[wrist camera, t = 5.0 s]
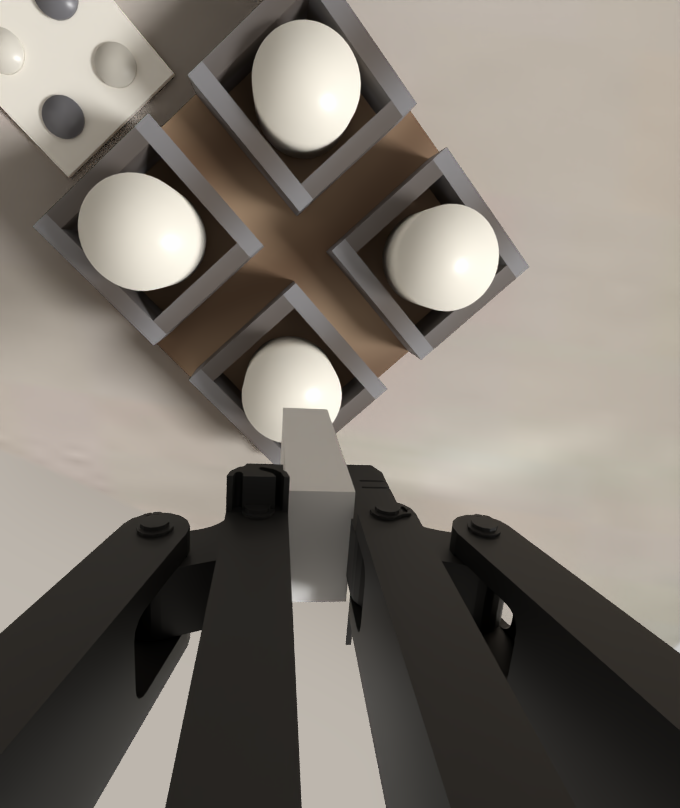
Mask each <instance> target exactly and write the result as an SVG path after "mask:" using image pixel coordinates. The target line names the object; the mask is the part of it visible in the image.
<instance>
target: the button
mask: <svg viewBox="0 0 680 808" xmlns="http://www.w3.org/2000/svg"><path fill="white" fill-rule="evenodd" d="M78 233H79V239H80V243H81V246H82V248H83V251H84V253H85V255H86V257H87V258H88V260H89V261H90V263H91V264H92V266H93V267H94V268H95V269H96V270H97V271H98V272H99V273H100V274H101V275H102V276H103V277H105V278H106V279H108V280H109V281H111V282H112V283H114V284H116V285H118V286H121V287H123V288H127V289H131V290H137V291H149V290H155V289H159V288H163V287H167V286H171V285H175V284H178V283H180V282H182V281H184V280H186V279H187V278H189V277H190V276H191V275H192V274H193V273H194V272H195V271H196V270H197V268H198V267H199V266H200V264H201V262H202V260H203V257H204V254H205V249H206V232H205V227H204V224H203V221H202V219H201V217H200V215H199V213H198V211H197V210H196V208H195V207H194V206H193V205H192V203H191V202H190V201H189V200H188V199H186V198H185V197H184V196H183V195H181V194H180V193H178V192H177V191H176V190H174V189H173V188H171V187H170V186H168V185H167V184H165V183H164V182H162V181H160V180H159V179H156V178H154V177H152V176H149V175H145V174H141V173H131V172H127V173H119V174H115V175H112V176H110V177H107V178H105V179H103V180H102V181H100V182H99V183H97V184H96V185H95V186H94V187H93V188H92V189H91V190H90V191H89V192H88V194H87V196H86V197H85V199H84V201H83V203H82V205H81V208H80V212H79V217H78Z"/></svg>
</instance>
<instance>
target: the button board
mask: <svg viewBox="0 0 680 808" xmlns="http://www.w3.org/2000/svg"><path fill="white" fill-rule="evenodd" d="M294 20H312V21H316V22H320V23H322V24H325V25H326V26H328V27H330V28H332V29H333V30H334V31H336V32H337V33H338V34H339V35H340V36H341V37H342V38H343V39H344V40H345V41H346V43H347V44H348V45H349V47H350V48H351V50H352V52H353V54H354V56H355V58H356V61H357V64H358V68H359V72H360V81H361V89H360V97H359V102H358V105H357V108H356V111H355V113H354V115H353V117H352V119H351V120H350V122H349V124H348V126H347V128H346V129H345V131H344V133H343V135H342V137H341V138H340V140H339V141H338V143H337V144H336V145H335V146H334V147H333V148H332V149H330V150H329V151H328V152H326V153H324V154H323V155H320V156H318V157H314V158H308V159H300V158H294V157H291V156H288V155H286V154H284V153H282V152H280V151H279V150H277V149H276V148H275V147H274V146H273V145H272V144H271V143H270V142H269V141H268V140H267V138H266V137H265V136H264V134H263V132H262V130H261V129H260V126H259V124H258V121H257V117H256V111H255V104H254V96H253V88H252V68H253V63H254V59H255V56H256V53H257V51H258V49H259V47H260V45H261V44H262V42H263V41H264V39H265V38H266V37H267V36H268V35H269V34H270V33H271V32H272V31H273V30H274V29H276V28H277V27H279V26H280V25H282V24H285V23H287V22H290V21H294ZM188 77H189V79H190V81H191V83H192V86H193V88H194V90H195V92H196V94H195V95H194V96H193V97H192V98H191V99H190V100H189V101H188V102H187V103H186V104H185V105H184V106H183V107H182V108H181V109H180V110H179V111H178V112H177V113H176V114H175V115H174V116H173V117H172V118H171V119H170V120H169V121H168V122H167V123H165V124H164V125H163V126H162V127H160V126H159V125H158V123H157V122H156V121H155V120H154V119H153V118H152V116H151V115H150V114H149V113H148V114H147V115H146V116H145V117H144V118H143V119H142V120H141V121H140V122H139V123H138V124H137V125H136V126H135V127H134V128H133V129H131V130H130V131H129V132H128V133H127V134H126V135H125V136H124V137H123V138H122V139H121V140H120V141H119V142H118V143H117V144H116V145H115V146H114V147H113V148H112V149H111V150H110V151H109V152H108V153H107V154H106V155H105V156H104V157H103V158H102V159H101V160H100V161H99V162H98V163H97V164H96V165H95V166H94V167H93V168H92V169H91V170H90V171H89V172H88V173H86V174H85V175H84V176H83V177H82V178H81V179H80V180H79V181H78V182H77V183H76V184H75V185H74V186H73V187H72V188H71V189H70V190H69V191H68V192H67V193H66V194H65V195H64V196H63V197H62V198H61V199H60V200H59V201H58V202H57V203H56V204H55V205H54V206H53V207H52V208H51V209H50V210H49V211H48V212H47V213H46V214H45V215H44V216H42V217H41V218H40V219H39V220H38V221H37V222H36V223H35V224H34V225H33V227H34V228H35V229H36V230H37V231H38V232H39V233H40V234H41V235H42V236H43V237H44V238H45V239H46V240H47V241H48V242H49V243H50V244H51V245H52V246H53V247H54V248H55V249H56V250H57V251H58V252H59V253H60V254H61V255H62V256H63V257H64V258H65V259H66V260H67V261H68V262H69V263H70V264H71V265H72V266H73V267H74V268H75V269H76V270H77V271H78V272H79V273H80V274H81V275H82V276H83V277H84V278H85V279H86V280H87V281H88V282H90V283H91V284H92V285H93V286H94V287H95V288H96V289H97V290H98V291H99V292H100V293H101V294H102V295H103V296H104V297H105V298H106V299H107V300H108V301H109V302H110V303H111V304H112V305H113V306H114V307H115V308H116V309H117V310H118V311H119V312H120V313H121V314H122V315H123V316H124V317H125V318H126V319H127V320H128V321H129V322H130V323H131V324H132V325H133V326H134V327H135V328H136V329H137V330H138V331H139V332H140V333H141V334H142V335H143V336H144V337H145V338H146V339H147V340H148V341H149V342H150V343H151V344H152V345H153V346H154V345H155V344H158V345H159V346H160V347H161V348H162V349H163V350H164V351H165V352H166V353H167V354H168V355H169V356H170V357H171V358H172V359H173V360H174V361H175V362H176V363H177V364H178V365H179V366H180V367H181V368H182V369H183V370H184V371H185V372H186V373H187V374H188V375H189V376H190V379H189V381H190V382H191V383H192V384H193V385H194V386H195V387H196V388H197V389H198V390H199V391H200V392H201V393H202V394H203V395H204V396H205V397H206V398H207V399H208V400H209V401H210V402H211V403H212V404H213V405H214V406H215V407H216V408H217V409H218V410H219V411H220V412H221V413H222V414H223V415H224V416H225V417H226V418H228V419H229V420H230V421H231V422H232V423H233V424H234V425H235V426H236V427H237V428H238V429H239V430H240V431H241V432H242V433H243V434H244V435H245V436H246V437H247V438H248V439H249V440H250V441H251V442H252V443H253V444H254V445H255V446H256V447H257V448H258V449H259V450H260V451H261V452H262V453H263V454H264V455H265V456H266V457H267V458H268V459H269V460H270V461H271V462H272V463H273V464H280V461H281V443H280V442H276V441H274V440H271V439H269V438H267V437H265V436H264V435H262V434H261V433H259V432H258V431H257V430H256V429H255V428H254V427H253V426H252V425H251V423H250V422H249V420H248V418H247V416H246V414H245V412H244V408H243V404H242V388H243V384H244V379H245V375H246V371H247V367H248V364H249V362H250V360H251V358H252V356H253V355H254V354H255V352H256V351H257V350H258V349H259V348H260V347H261V346H262V345H264V344H265V343H267V342H269V341H270V340H273V339H275V338H279V337H285V336H295V337H300V338H304V339H306V340H309V341H311V342H313V343H314V344H316V345H317V346H318V347H319V348H320V349H321V350H322V351H323V352H324V353H325V354H326V356H327V358H328V359H329V361H330V363H331V365H332V367H333V369H334V370H335V372H336V374H337V376H338V379H339V382H340V385H341V392H342V399H341V406H340V409H339V412H338V414H337V417H336V418H335V420H334V422H333V423H332V424H333V427H334V430H335V433H337V432H338V431H339V430H340V429H342V428H343V427H344V426H345V425H346V424H347V423H348V422H350V421H351V420H352V419H353V418H354V417H355V416H357V415H358V414H359V413H360V412H361V411H362V410H364V409H365V408H366V407H367V406H368V405H369V404H371V403H372V402H373V401H374V400H375V399H376V398H378V397H379V396H380V395H381V394H382V393H383V392H385V391H386V390H387V388H386V387H385V386H384V384H383V383H382V382H381V381H380V380H379V379H378V377H379V376H381V375H382V374H383V373H384V372H385V371H386V370H388V369H389V368H390V367H391V366H392V365H393V364H394V363H396V362H397V361H398V360H399V359H400V358H401V357H403V356H404V355H405V354H406V353H407V352H408V351H409V352H411V353H412V354H414V355H415V356H416V357H418V358H419V359H421V360H422V359H423V358H424V357H425V356H426V355H428V354H429V353H430V352H431V351H432V350H433V349H434V348H436V347H437V346H438V345H439V344H440V343H441V342H443V341H444V340H445V339H446V338H447V337H448V336H450V335H451V334H452V333H453V332H454V331H455V330H457V329H458V328H459V327H460V326H461V325H462V324H464V323H465V322H466V321H467V320H468V319H469V318H471V317H472V316H473V315H474V314H475V313H476V312H478V311H479V310H480V309H481V308H482V307H483V306H484V305H486V304H487V303H488V302H489V301H490V300H491V299H493V298H494V297H495V296H496V295H497V294H498V293H500V292H501V291H502V290H503V289H504V288H505V287H507V286H508V285H509V284H510V283H511V282H512V281H514V280H515V279H516V278H517V277H518V276H519V275H521V274H522V273H523V272H524V271H525V270H526V269H527V268H529V266H528V264H527V263H526V261H525V260H524V258H523V257H522V255H521V254H520V253H519V251H518V250H517V248H516V247H515V245H514V244H513V242H512V241H511V239H510V238H509V237H508V235H507V234H506V232H505V231H504V229H503V228H502V226H501V225H500V224H499V222H498V221H497V219H496V218H495V216H494V215H493V213H492V212H491V210H490V209H489V208H488V206H487V205H486V203H485V202H484V200H483V199H482V197H481V196H480V194H479V193H478V192H477V190H476V189H475V187H474V186H473V184H472V183H471V181H470V180H469V179H468V177H467V176H466V174H465V173H464V171H463V170H462V168H461V167H460V165H459V164H458V163H457V161H456V160H455V158H454V157H453V155H452V154H451V152H450V151H449V149H448V148H447V147H446V148H444V149H443V150H441V151H440V152H439V151H438V150H437V149H436V147H435V146H434V144H433V143H432V141H431V140H430V138H429V137H428V136H427V134H426V133H425V131H424V130H423V128H422V127H421V126H420V124H419V123H418V121H417V120H416V118H415V117H414V115H413V114H412V113H411V111H410V110H411V109H412V108H413V107H414V106H415V105H416V104H417V103H416V102H415V100H414V99H413V97H412V96H411V94H410V93H409V91H408V90H407V88H406V87H405V86H404V84H403V83H402V81H401V80H400V78H399V77H398V75H397V74H396V73H395V71H394V70H393V68H392V67H391V65H390V64H389V62H388V61H387V59H386V58H385V57H384V55H383V54H382V52H381V51H380V49H379V48H378V46H377V45H376V43H375V42H374V41H373V39H372V38H371V36H370V35H369V33H368V32H367V30H366V29H365V28H364V26H363V25H362V23H361V22H360V20H359V19H358V17H357V16H356V14H355V13H354V12H353V10H352V9H351V7H350V6H349V4H348V3H347V1H346V0H263V1H262V2H261V3H260V4H259V5H258V6H257V7H256V8H255V9H254V10H253V11H252V12H251V13H250V14H249V15H248V16H247V17H246V18H245V19H244V20H243V21H242V22H241V23H240V24H239V25H238V26H237V27H236V28H235V29H234V30H233V31H232V32H231V33H230V34H229V35H228V36H227V37H226V38H225V39H224V40H223V41H222V42H221V43H219V44H218V45H217V46H216V47H215V48H214V49H213V50H212V51H211V52H210V53H209V54H208V55H207V56H206V57H205V58H204V59H203V60H202V61H201V62H200V63H199V64H198V65H197V66H196V67H195V68H194V69H193V70H192V71H191V72H190V73H189V74H188ZM127 172H131V173H141V174H145V175H149V176H152V177H154V178H156V179H159V180H160V181H162V182H164V183H165V184H167V185H168V186H170V187H171V188H173V189H174V190H176V191H177V192H178V193H180V194H181V195H183V196H184V197H185V198H186V199H188V200H189V201H190V202H191V203H192V205H193V206H194V207H195V208H196V210H197V211H198V213H199V215H200V217H201V219H202V221H203V224H204V227H205V232H206V249H205V254H204V257H203V260H202V262H201V264H200V266H199V267H198V268H197V270H196V271H195V272H194V273H193V274H192V275H191V276H190V277H189V278H187V279H186V280H184V281H182V282H180V283H178V284H175V285H171V286H167V287H163V288H159V289H155V290H149V291H137V290H131V289H127V288H123V287H121V286H118V285H116V284H114V283H112V282H111V281H109V280H108V279H106V278H105V277H103V276H102V275H101V274H100V273H99V272H98V271H97V270H96V269H95V268H94V267H93V266H92V264H91V263H90V261H89V260H88V258H87V257H86V255H85V253H84V251H83V248H82V246H81V243H80V239H79V233H78V217H79V212H80V208H81V205H82V203H83V201H84V199H85V197H86V196H87V194H88V192H89V191H90V190H91V189H92V188H93V187H94V186H95V185H96V184H97V183H99V182H100V181H102V180H103V179H105V178H107V177H110V176H112V175H115V174H119V173H127ZM445 204H459V205H464V206H467V207H470V208H472V209H474V210H476V211H477V212H478V213H480V214H481V215H482V216H483V217H484V218H485V219H486V220H487V221H488V222H489V224H490V225H491V227H492V229H493V230H494V233H495V235H496V238H497V242H498V248H499V261H498V267H497V271H496V274H495V277H494V279H493V281H492V283H491V284H490V286H489V288H488V289H487V290H486V292H485V293H484V294H483V295H482V296H481V297H480V298H479V299H478V300H476V301H475V302H474V303H472V304H470V305H469V306H466V307H464V308H462V309H458V310H454V311H438V310H434V309H430V308H427V307H424V306H421V305H418V304H415V303H411V302H409V301H407V300H405V299H403V298H401V297H400V296H399V295H398V294H396V293H395V291H394V290H393V289H392V288H391V286H390V285H389V283H388V281H387V279H386V277H385V274H384V269H383V251H384V247H385V243H386V241H387V238H388V236H389V235H390V233H391V231H392V230H393V229H394V228H395V226H396V225H397V224H398V223H399V222H401V221H402V220H403V219H405V218H406V217H408V216H410V215H412V214H415V213H418V212H421V211H424V210H427V209H430V208H433V207H436V206H440V205H445Z"/></svg>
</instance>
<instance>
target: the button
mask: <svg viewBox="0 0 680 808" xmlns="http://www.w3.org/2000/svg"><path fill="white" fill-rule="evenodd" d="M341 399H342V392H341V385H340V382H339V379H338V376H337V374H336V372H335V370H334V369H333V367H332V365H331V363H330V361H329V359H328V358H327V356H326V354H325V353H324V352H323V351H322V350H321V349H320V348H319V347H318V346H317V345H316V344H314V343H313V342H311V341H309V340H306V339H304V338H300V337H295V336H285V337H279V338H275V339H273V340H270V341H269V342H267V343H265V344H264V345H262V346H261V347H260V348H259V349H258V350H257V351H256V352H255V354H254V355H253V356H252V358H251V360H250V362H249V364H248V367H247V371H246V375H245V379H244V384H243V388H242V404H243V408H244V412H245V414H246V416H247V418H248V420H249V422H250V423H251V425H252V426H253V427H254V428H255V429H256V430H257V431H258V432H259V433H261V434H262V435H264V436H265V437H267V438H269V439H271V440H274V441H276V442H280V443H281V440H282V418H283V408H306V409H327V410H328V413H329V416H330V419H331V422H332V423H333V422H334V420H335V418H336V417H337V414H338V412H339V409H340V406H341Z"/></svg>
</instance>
